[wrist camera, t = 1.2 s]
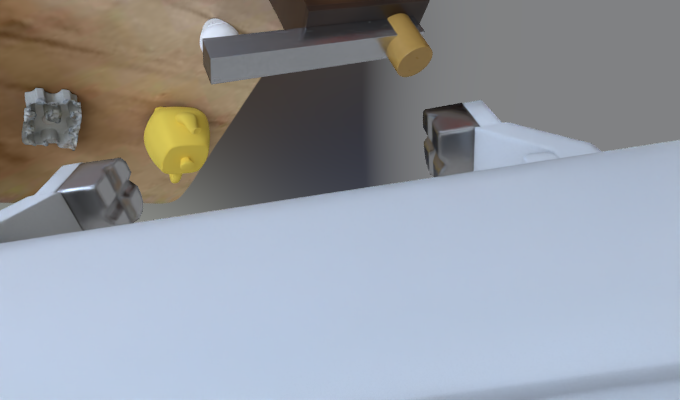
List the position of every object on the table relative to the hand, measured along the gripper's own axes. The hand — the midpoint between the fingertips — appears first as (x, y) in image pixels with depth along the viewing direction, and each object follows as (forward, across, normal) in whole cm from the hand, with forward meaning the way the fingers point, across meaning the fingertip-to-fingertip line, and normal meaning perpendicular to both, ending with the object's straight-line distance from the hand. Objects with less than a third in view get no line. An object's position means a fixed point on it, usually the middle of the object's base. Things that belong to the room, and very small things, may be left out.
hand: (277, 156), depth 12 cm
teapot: (+68, +29, +24) cm, 78 cm away
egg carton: (+58, +43, +16) cm, 74 cm away
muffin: (+63, +16, +8) cm, 65 cm away
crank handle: (+35, -1, +6) cm, 35 cm away
